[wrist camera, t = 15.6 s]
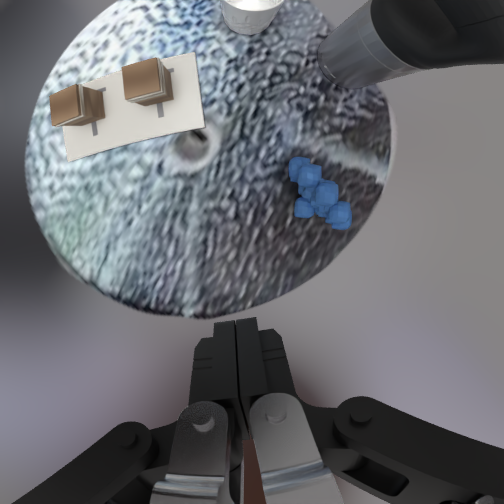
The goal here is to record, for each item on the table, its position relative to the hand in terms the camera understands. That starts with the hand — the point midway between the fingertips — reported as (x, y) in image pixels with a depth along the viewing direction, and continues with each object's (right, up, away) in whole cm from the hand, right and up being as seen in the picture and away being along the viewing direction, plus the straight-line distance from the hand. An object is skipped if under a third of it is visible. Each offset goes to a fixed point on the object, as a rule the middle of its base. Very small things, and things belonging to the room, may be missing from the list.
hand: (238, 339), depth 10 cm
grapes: (+8, +12, +31) cm, 34 cm away
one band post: (-22, +23, +22) cm, 39 cm away
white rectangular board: (-17, +23, +24) cm, 37 cm away
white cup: (0, +36, +20) cm, 41 cm away
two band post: (-12, +25, +22) cm, 35 cm away
